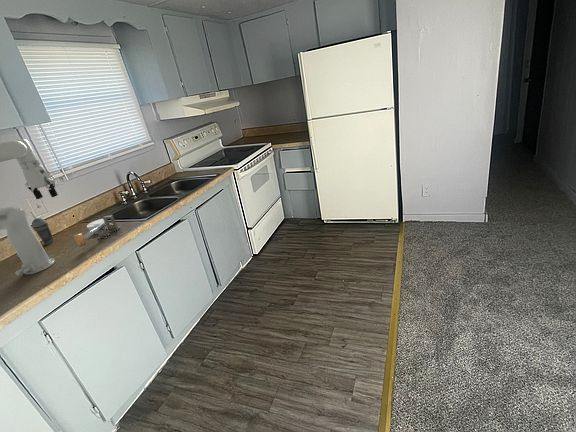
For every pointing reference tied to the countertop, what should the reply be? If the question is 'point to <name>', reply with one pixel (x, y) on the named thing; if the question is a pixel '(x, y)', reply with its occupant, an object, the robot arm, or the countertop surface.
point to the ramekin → (96, 224)
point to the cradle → (102, 233)
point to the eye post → (110, 226)
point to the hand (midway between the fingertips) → (47, 197)
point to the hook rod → (87, 235)
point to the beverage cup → (42, 230)
